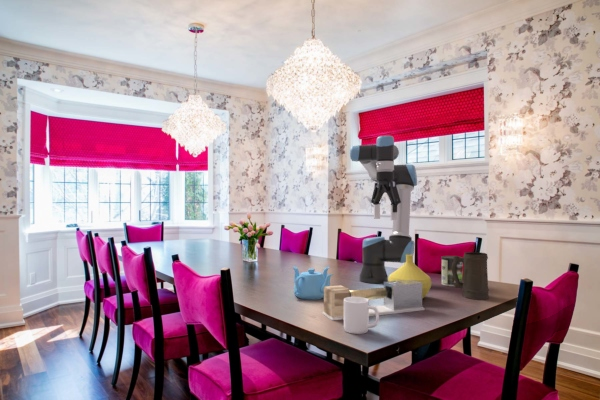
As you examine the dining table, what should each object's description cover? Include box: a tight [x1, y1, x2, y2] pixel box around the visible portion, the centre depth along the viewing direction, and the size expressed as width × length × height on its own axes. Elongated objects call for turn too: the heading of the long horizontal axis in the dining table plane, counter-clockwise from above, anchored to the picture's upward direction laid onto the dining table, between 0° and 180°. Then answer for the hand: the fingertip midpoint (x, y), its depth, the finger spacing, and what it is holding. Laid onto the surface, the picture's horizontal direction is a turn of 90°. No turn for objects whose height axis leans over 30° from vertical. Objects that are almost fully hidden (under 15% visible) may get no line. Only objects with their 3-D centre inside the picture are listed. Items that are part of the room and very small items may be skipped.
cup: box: [343, 297, 380, 335], centre depth 131 cm, size 8×12×10 cm
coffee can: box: [441, 255, 463, 287], centre depth 204 cm, size 10×10×14 cm
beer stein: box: [452, 251, 490, 301], centre depth 178 cm, size 15×11×20 cm
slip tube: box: [349, 287, 387, 301], centre depth 152 cm, size 20×4×4 cm, turn 110°
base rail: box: [321, 304, 425, 321], centre depth 154 cm, size 9×40×1 cm, turn 110°
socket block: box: [323, 284, 350, 317], centre depth 148 cm, size 7×7×10 cm
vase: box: [387, 254, 432, 300], centre depth 175 cm, size 18×18×19 cm
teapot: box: [292, 265, 334, 301], centre depth 179 cm, size 17×19×12 cm
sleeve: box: [383, 280, 423, 311], centre depth 158 cm, size 7×13×10 cm, turn 110°
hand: (385, 219), depth 175 cm, fingers open, 13 cm apart
